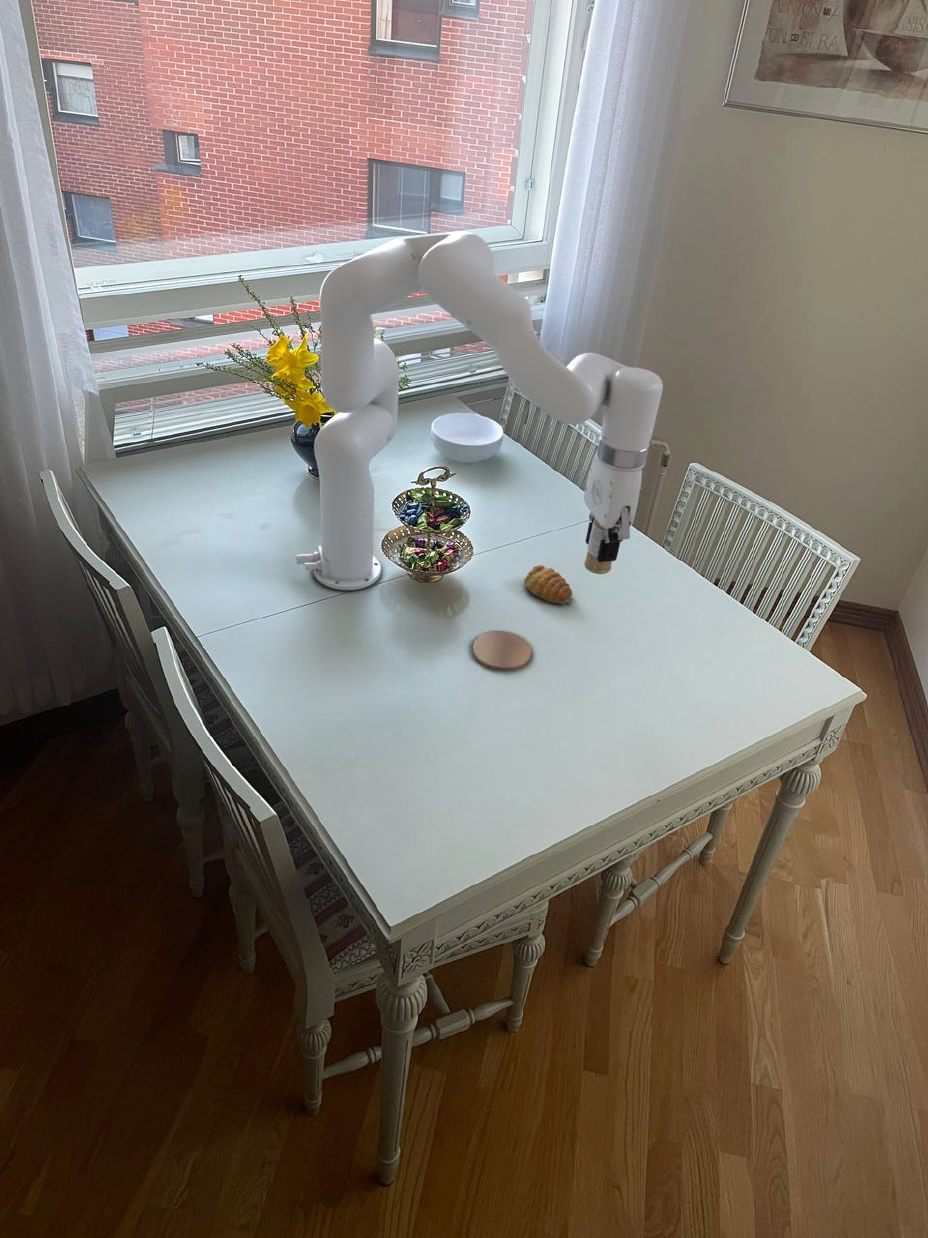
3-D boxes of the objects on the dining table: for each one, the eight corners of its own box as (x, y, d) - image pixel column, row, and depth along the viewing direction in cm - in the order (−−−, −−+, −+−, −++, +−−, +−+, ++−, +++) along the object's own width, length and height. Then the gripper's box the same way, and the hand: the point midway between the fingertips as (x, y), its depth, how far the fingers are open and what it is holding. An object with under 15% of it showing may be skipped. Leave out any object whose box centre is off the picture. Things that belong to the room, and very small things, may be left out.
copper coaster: (482, 673, 155) (482, 670, 154) (466, 636, 162) (466, 634, 162) (538, 666, 157) (538, 663, 157) (520, 630, 165) (520, 628, 165)
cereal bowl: (502, 475, 211) (505, 446, 206) (429, 470, 210) (430, 442, 205) (499, 441, 224) (501, 414, 220) (430, 437, 223) (431, 409, 219)
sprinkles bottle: (601, 557, 156) (616, 487, 148) (616, 572, 153) (632, 502, 145) (578, 562, 154) (592, 491, 146) (592, 577, 151) (608, 506, 143)
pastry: (579, 597, 175) (582, 580, 172) (556, 611, 171) (558, 594, 168) (542, 575, 180) (544, 558, 177) (518, 587, 176) (521, 571, 173)
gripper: (579, 426, 146) (561, 525, 157) (621, 480, 133) (598, 583, 144) (623, 425, 148) (602, 522, 159) (668, 477, 135) (642, 579, 146)
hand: (600, 550), depth 152 cm, fingers closed on sprinkles bottle, 4 cm apart
